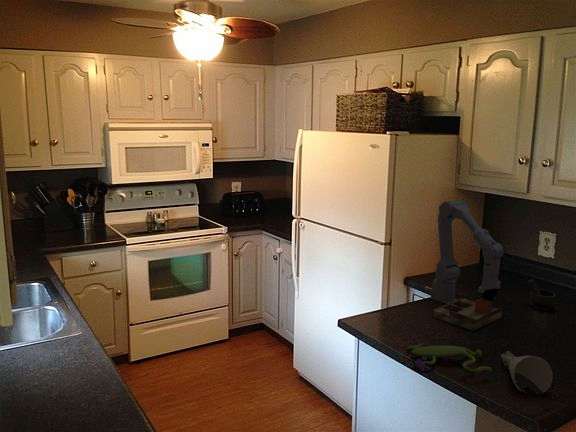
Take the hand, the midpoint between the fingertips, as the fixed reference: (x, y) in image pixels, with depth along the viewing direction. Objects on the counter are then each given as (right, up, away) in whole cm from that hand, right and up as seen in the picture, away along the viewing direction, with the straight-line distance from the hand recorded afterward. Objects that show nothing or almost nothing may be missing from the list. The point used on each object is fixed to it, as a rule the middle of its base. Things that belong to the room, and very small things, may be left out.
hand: (487, 306), depth 209 cm
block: (-3, -2, -2) cm, 4 cm away
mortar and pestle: (+26, -3, +12) cm, 29 cm away
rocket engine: (-7, -15, -48) cm, 51 cm away
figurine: (-28, -13, -39) cm, 50 cm away
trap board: (-8, -4, 0) cm, 10 cm away
